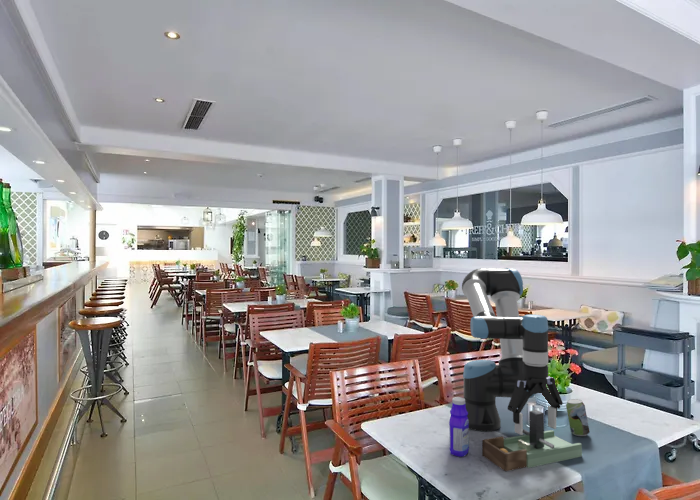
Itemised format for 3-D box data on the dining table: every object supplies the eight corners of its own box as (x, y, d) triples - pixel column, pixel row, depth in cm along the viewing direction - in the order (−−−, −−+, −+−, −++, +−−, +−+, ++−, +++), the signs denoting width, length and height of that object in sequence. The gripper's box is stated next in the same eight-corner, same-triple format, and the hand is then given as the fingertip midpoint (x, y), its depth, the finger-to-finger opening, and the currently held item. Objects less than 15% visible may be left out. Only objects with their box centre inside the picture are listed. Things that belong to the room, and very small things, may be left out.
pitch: (552, 441, 148) (551, 429, 148) (581, 456, 136) (581, 444, 136) (500, 451, 140) (500, 438, 140) (528, 467, 129) (528, 454, 129)
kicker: (525, 437, 144) (525, 405, 144) (556, 454, 132) (556, 418, 132) (508, 440, 142) (508, 407, 142) (538, 457, 130) (537, 421, 130)
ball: (495, 460, 133) (495, 449, 133) (499, 456, 135) (499, 445, 136) (506, 464, 131) (506, 452, 131) (510, 460, 133) (510, 448, 133)
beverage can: (592, 438, 150) (591, 404, 150) (569, 437, 151) (569, 402, 151) (586, 431, 156) (585, 398, 156) (564, 430, 157) (563, 397, 158)
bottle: (464, 459, 134) (464, 403, 134) (446, 455, 137) (446, 400, 137) (471, 450, 140) (471, 397, 140) (454, 446, 143) (454, 394, 143)
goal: (502, 451, 139) (502, 436, 140) (526, 467, 129) (526, 450, 129) (482, 455, 137) (482, 439, 137) (505, 471, 127) (505, 454, 127)
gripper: (555, 358, 146) (556, 421, 145) (495, 364, 137) (495, 431, 137) (574, 363, 139) (574, 429, 138) (512, 369, 130) (512, 440, 130)
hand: (535, 430), depth 138 cm, fingers open, 13 cm apart
